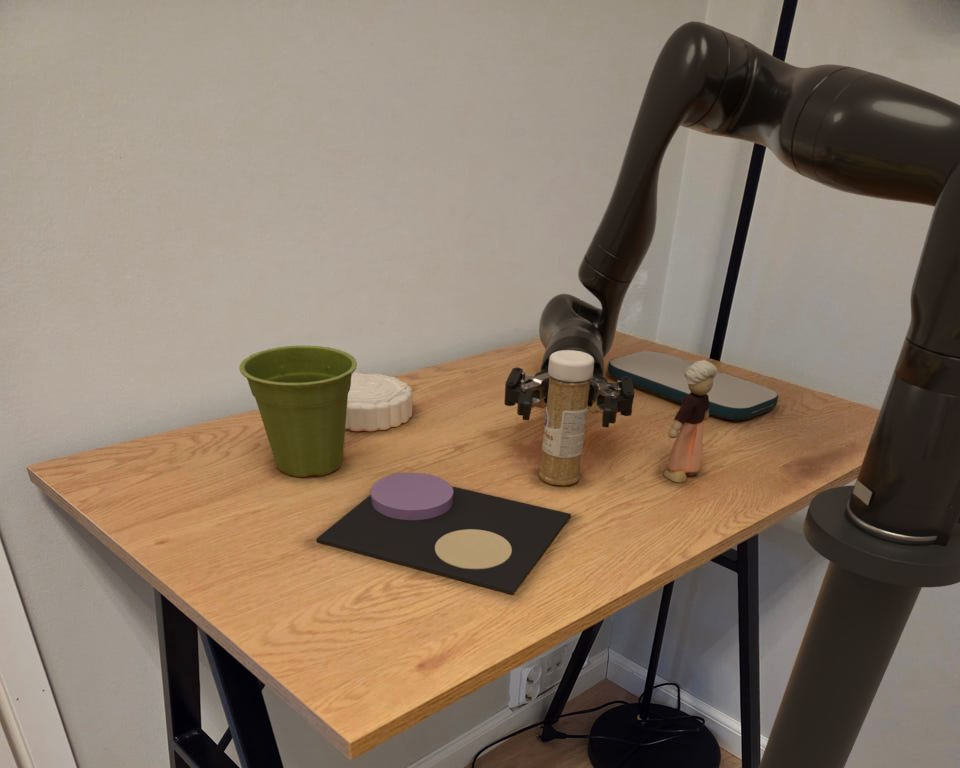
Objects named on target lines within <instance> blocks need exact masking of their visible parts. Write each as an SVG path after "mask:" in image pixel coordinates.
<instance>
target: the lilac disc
mask: <svg viewBox="0 0 960 768" xmlns="http://www.w3.org/2000/svg"><path fill="white" fill-rule="evenodd" d="M453 494H454V492H453V488H452V484H450V482H449V481H447V480H446V479H445V478H442V477H440V476H437V475H433V474H429V473H422V472H400V473H399V472H398V473H395V474H390V475H387V476H383V477H382V478H380V479H378V480H377V481H375V482H374V483H373V484H372V486H371V488H370V495H371V503H372V506H373V507H374V509H375V510H376V511H378V512H379V513H381V514H383V515H385V516H388V517H391V518H395V519H400V520H425V519H431V518H434V517H437V516H440V515H442V514H444V513H446V512H447V511H448V510H449V509H450V508H451V507H452V505H453Z"/></svg>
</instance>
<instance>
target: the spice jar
mask: <svg viewBox="0 0 960 768" xmlns="http://www.w3.org/2000/svg"><path fill="white" fill-rule="evenodd" d="M593 369H594V358H593V357H592V356H591V355H589V354H587V353H584V352H581V351H574V350H562V351H557V352H554V353H552V354H551V355H550V358H549V366H548V374H549V388H548V399H547V407H545V416H544V417H545V418H544V425H543V436H542V444H541V449H542V451H541V462H540V469H539V471H538V476H539V479H540V480H542V481H543V482H544V483H546V484H549V485H553V486H570V485H573V484H576V483H577V482H579V479H580V477H581V475H580V466H581V459H582V458H581V457H582V453H583V448H584V440H585V433H586V424H587V418H588V410H587V409H588V395H589V387H590V381H591V377H592V376H593Z"/></svg>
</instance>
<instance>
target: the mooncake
mask: <svg viewBox="0 0 960 768" xmlns="http://www.w3.org/2000/svg"><path fill="white" fill-rule="evenodd" d="M412 416H413V389H412V387H410V386H409V385H408V383H407V382H405V381H401V379H399V378H397V377H395V376H388V375H386V374H384V373H361V372H353V373H352V377H351V386H350V391H349V392H348V400H347V412H346V423H345V431H348V430H350V431H352V432H362V431H364V432H368V433H369V432H370V433H371V432H375V431H386V430H389V429H390V428H397V427H400V426H401V424H405V423H407V422H408V421H409V420H410V418H411V417H412Z"/></svg>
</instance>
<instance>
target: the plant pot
mask: <svg viewBox="0 0 960 768" xmlns="http://www.w3.org/2000/svg"><path fill="white" fill-rule="evenodd" d="M357 367H358V361H357V359H356V358H355V357H354V356H353V355H352V354H350V353H348V352H346V351H344V350H341V349H337V348H333V347H329V346H323V345H322V346H321V345H286V346H279V347H272V348H268V349H265V350H261V351H258V352H255V353H252V354H250V355H249V356H247V357H246V358H244V359H243V360H241V362H240V364H239V372H240V374H241V375H242V376H243V377H245V378H246V380H247V383H248V385H249V386H248V387H249V389H250V392H251V394H252V396H253V397H254V398H255V402H256V405H257V407H258V411H259V414H260V418H261V420H262V424H263V427H264V431H265V434H266V437H267V440H268V443H269V446H270V449H271V454H272V456H273V459H274V463H275V465H276V467H277V469H278V470H279V471H281V472H282V473H284V474H285V475H289V476H292V477H297V478H306V477H308V476H311V475H317V476H325V475H328V474H330V473H333V472H334V471H337V469H339V468H340V467H341V465H342V464H343V457H344V445H345V436H346V430H345V423H346V412H347V400H348V392H349V391H350V386H351V377H352V373H355V371H356V370H357Z"/></svg>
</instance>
